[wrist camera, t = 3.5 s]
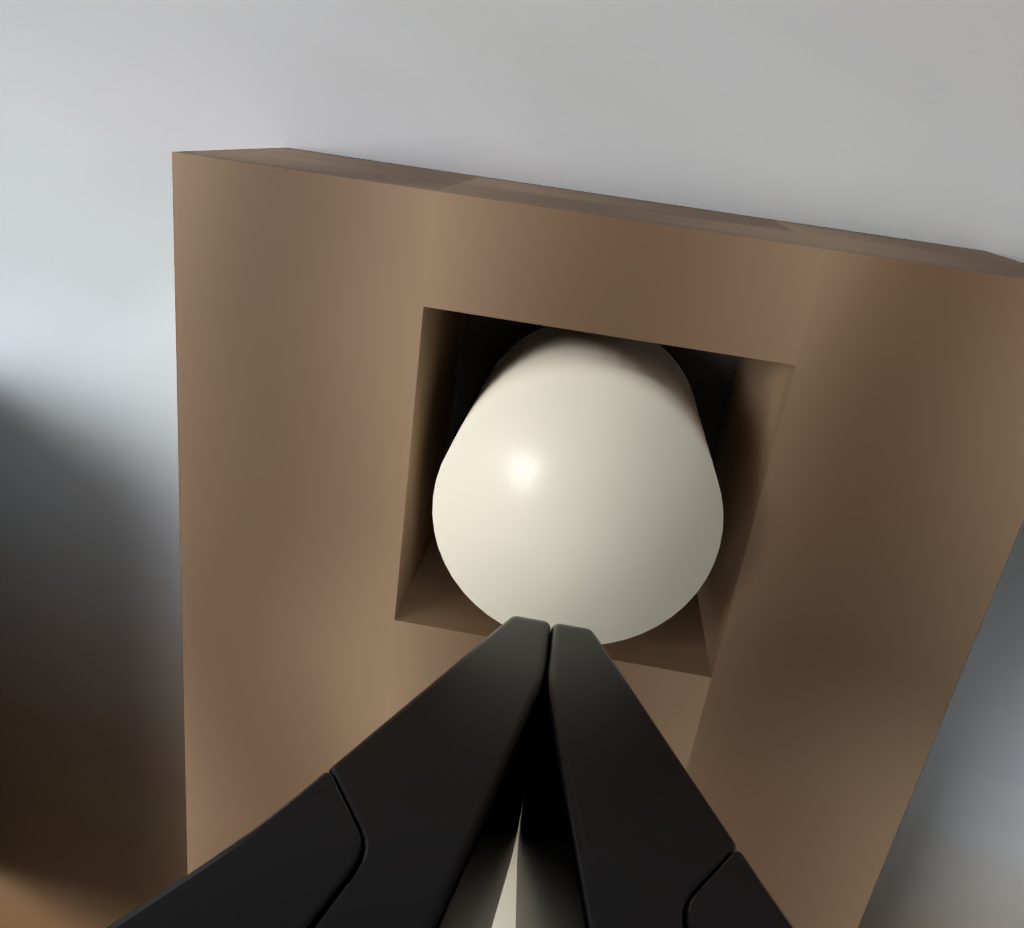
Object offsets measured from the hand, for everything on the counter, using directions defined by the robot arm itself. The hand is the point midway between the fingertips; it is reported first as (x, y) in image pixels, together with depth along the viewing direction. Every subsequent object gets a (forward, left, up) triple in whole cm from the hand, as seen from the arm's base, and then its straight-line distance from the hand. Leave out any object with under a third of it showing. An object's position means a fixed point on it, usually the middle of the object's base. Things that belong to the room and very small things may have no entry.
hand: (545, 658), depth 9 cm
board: (0, +8, -8) cm, 11 cm away
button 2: (0, 0, -7) cm, 7 cm away
